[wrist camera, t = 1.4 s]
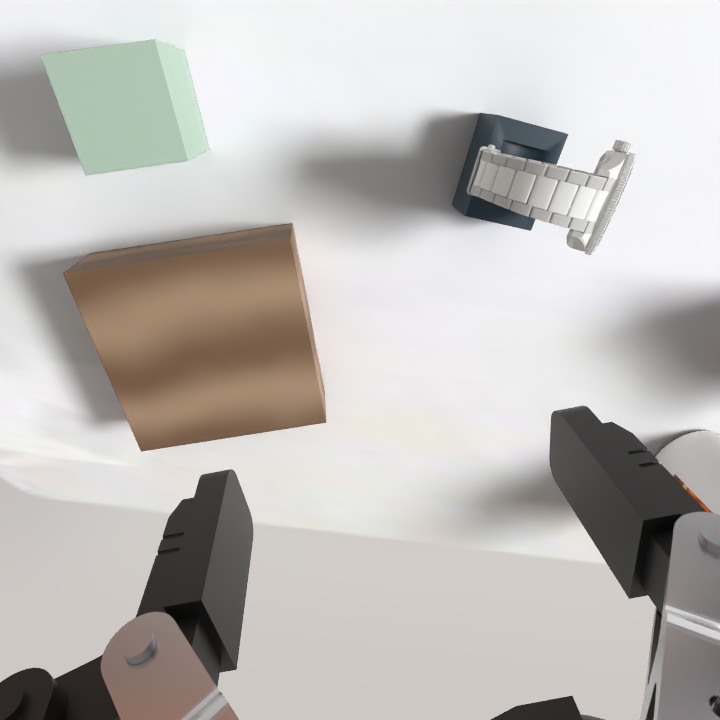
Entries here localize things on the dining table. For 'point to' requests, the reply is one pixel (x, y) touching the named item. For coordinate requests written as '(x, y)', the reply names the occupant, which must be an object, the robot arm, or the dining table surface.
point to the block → (128, 105)
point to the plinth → (204, 335)
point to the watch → (539, 181)
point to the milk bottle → (696, 466)
